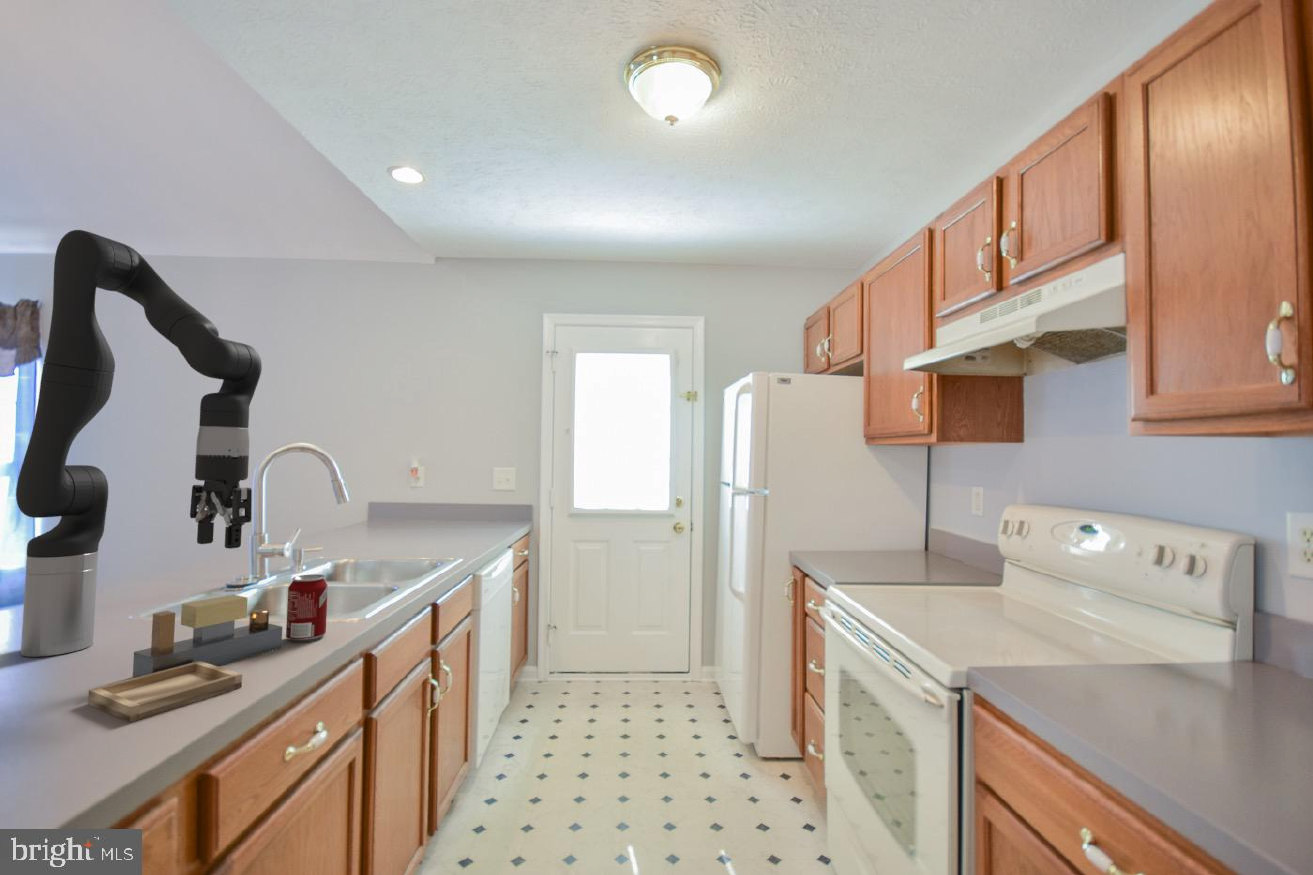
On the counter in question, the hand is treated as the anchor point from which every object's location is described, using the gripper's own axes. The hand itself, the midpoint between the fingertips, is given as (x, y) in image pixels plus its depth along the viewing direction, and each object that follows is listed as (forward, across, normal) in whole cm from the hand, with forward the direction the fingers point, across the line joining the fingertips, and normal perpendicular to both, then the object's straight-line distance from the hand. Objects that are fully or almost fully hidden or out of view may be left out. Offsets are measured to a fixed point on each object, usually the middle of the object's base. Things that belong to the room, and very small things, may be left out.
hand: (218, 545), depth 103 cm
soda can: (+20, +1, +16) cm, 26 cm away
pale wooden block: (+13, 0, 0) cm, 13 cm away
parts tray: (+20, +10, -11) cm, 25 cm away
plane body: (+20, 0, 0) cm, 20 cm away
